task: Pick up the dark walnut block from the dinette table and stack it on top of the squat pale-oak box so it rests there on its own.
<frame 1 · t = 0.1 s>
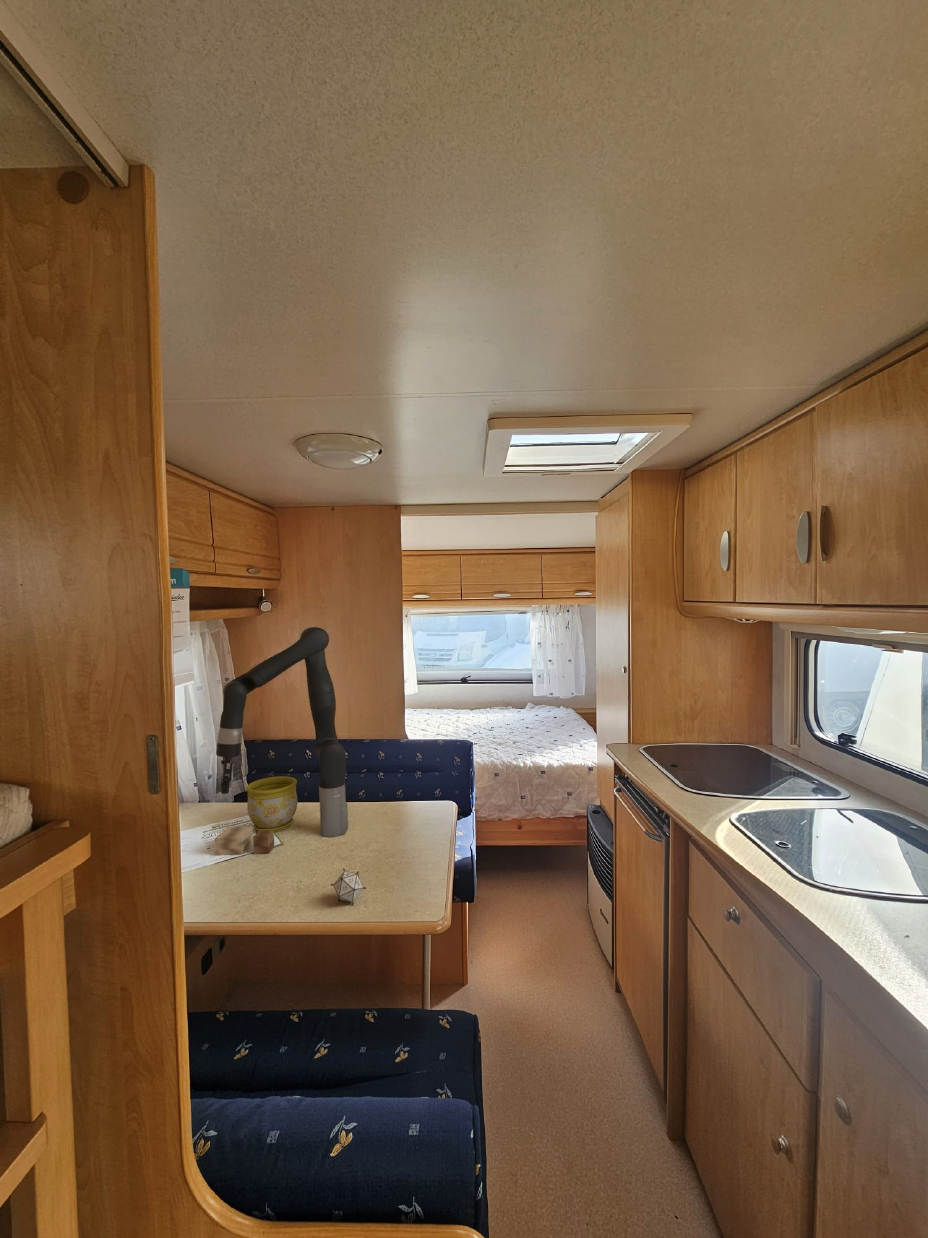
hand: (224, 790, 174), 22 cm above the table, tool pointing down, fingers open, 8 cm apart
oak box: (235, 849, 179), on the table
flowerpot: (273, 827, 198), on the table
walnut block: (264, 851, 177), on the table
game die: (348, 901, 143), on the table
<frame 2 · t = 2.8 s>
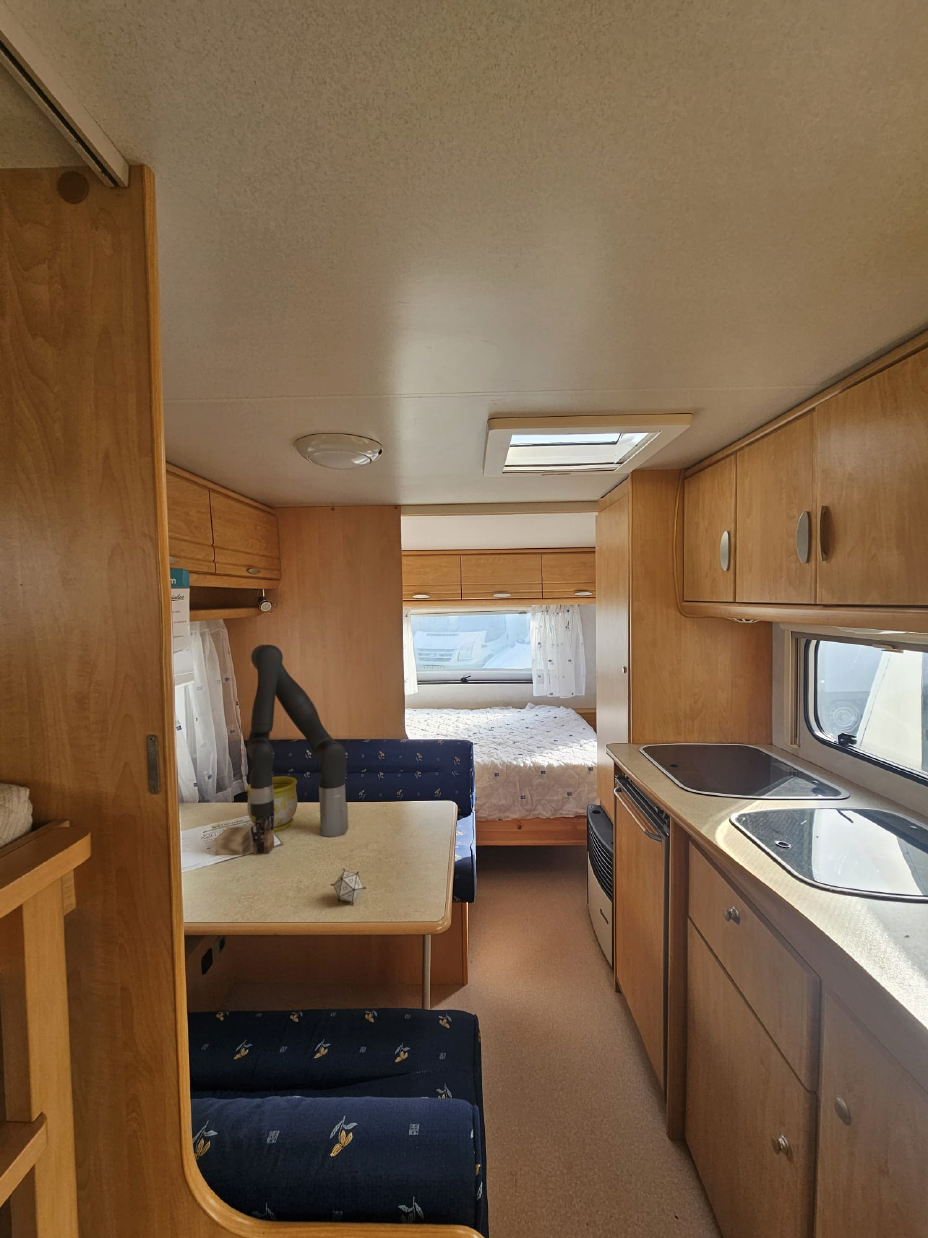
hand: (264, 849, 177), 1 cm above the table, tool pointing down, fingers closed on walnut block, 5 cm apart
walnut block: (264, 851, 177), on the table, touching gripper
everything else where it was.
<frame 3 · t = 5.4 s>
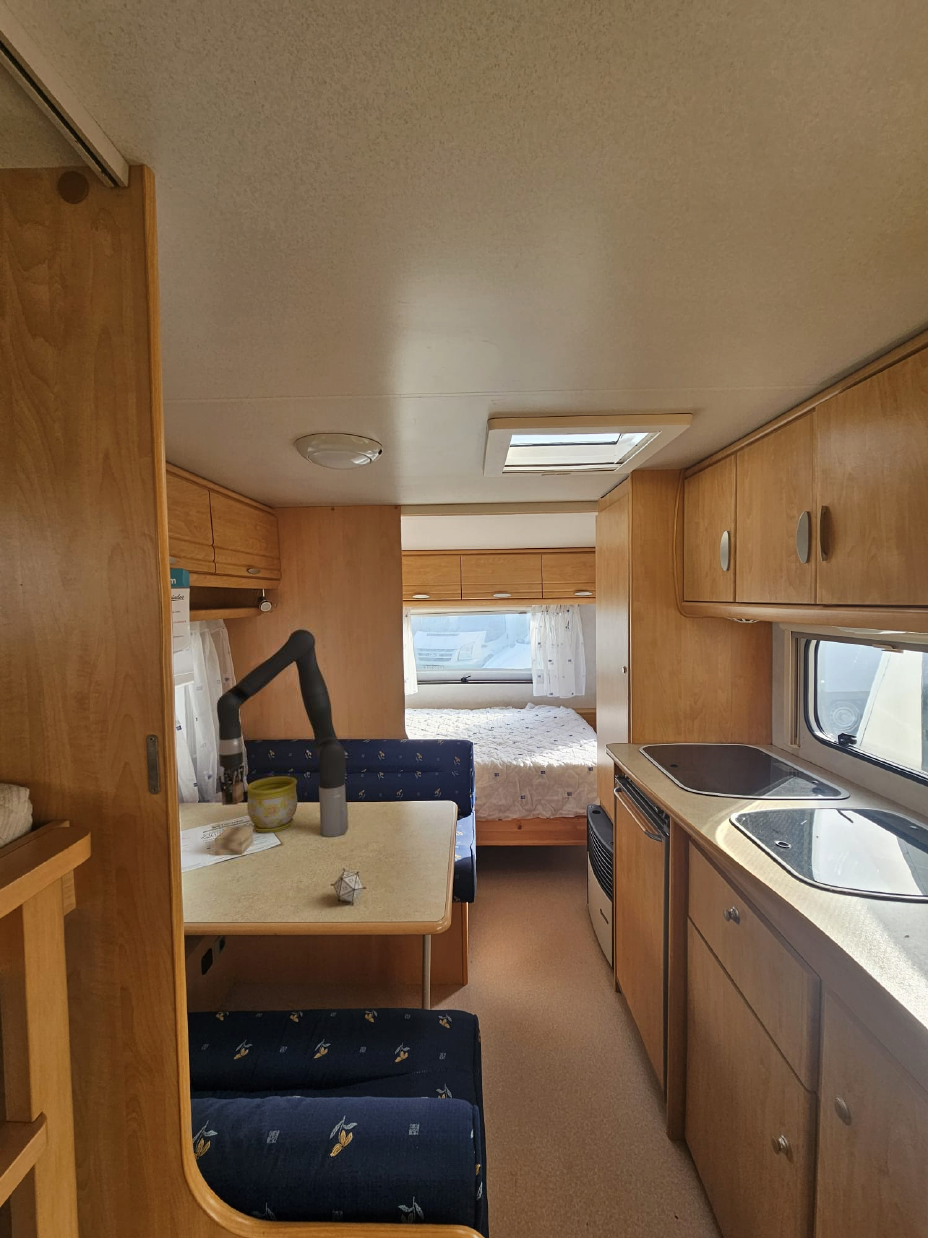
hand: (233, 800, 179), 17 cm above the table, tool pointing down, fingers closed on walnut block, 5 cm apart
walnut block: (233, 802, 179), point 16 cm above the table, touching gripper
everything else where it was.
when the fingers open (7 cm above the table, at t = 8.0 s): walnut block stays where it is, resting on oak box.
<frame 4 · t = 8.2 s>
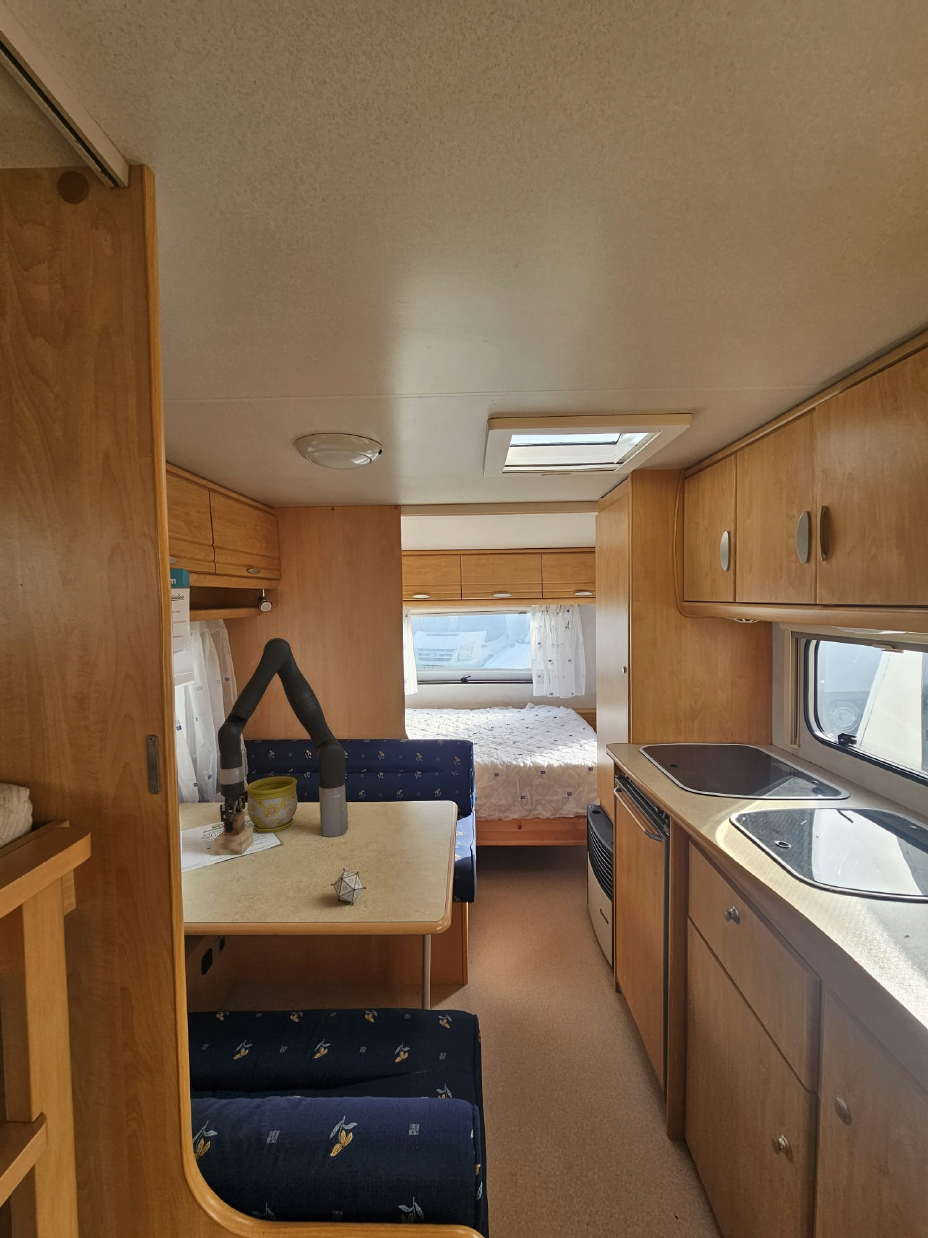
hand: (234, 828, 179), 7 cm above the table, tool pointing down, fingers open, 6 cm apart
oak box: (235, 850, 179), on the table, touching walnut block
walnut block: (234, 832, 179), point 6 cm above the table, touching oak box
everything else where it was.
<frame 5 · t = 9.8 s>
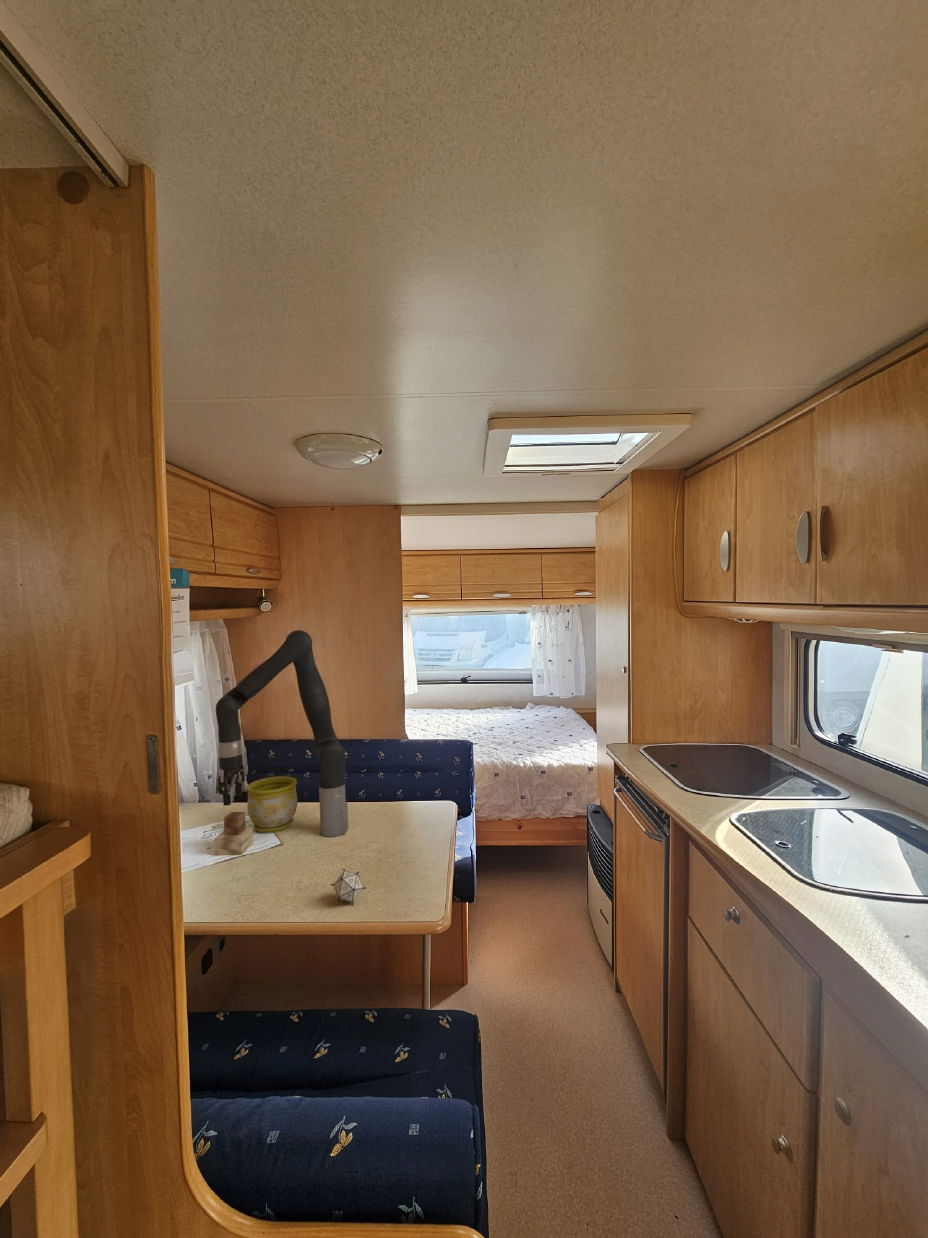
hand: (233, 800, 179), 17 cm above the table, tool pointing down, fingers open, 8 cm apart
nothing on the table moved.
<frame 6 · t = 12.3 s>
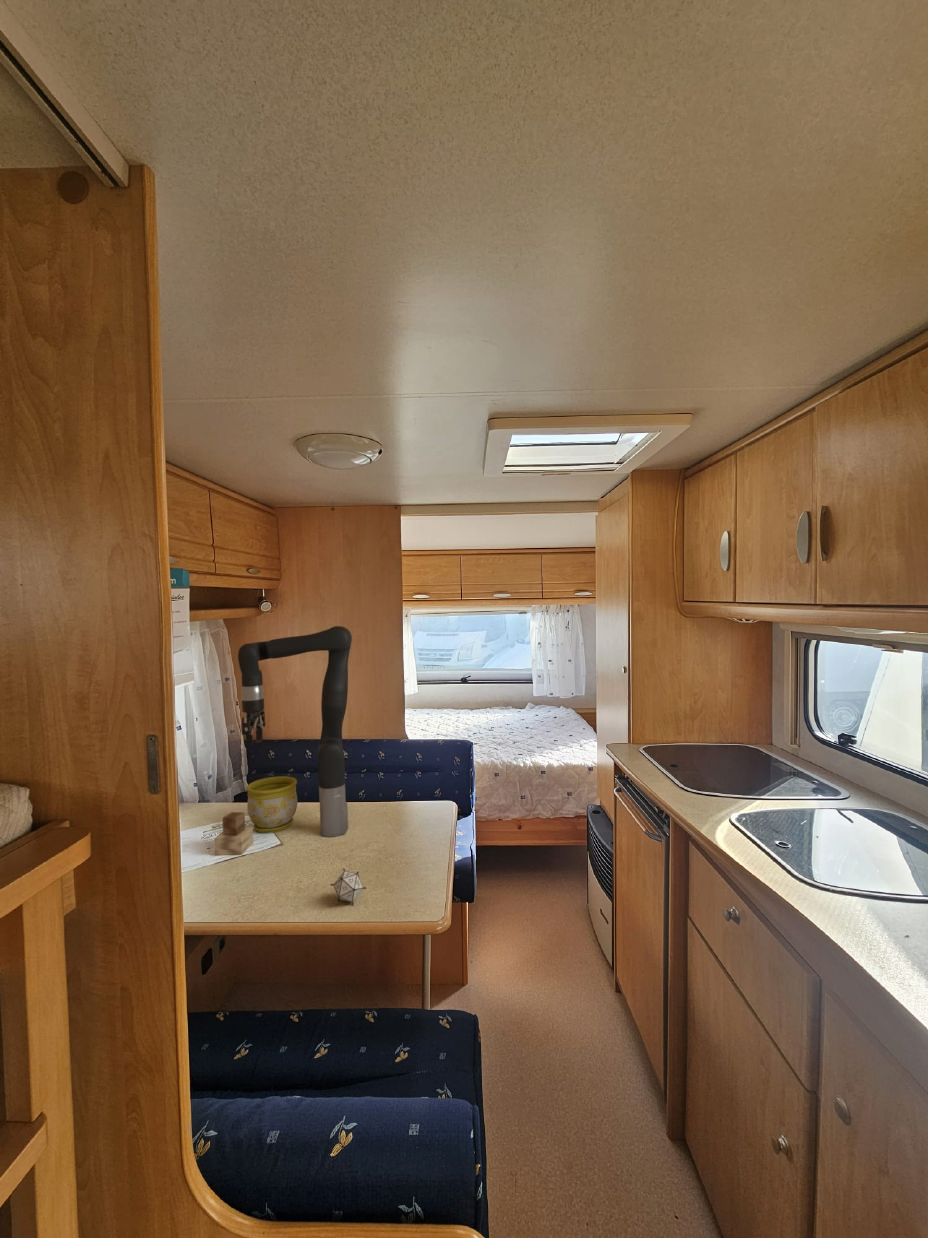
hand: (254, 742, 189), 34 cm above the table, tool pointing down, fingers open, 8 cm apart
nothing on the table moved.
at the end: walnut block 0.1 cm from the oak box (horizontally); walnut block point 5.7 cm above the table; the gripper is holding nothing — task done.
